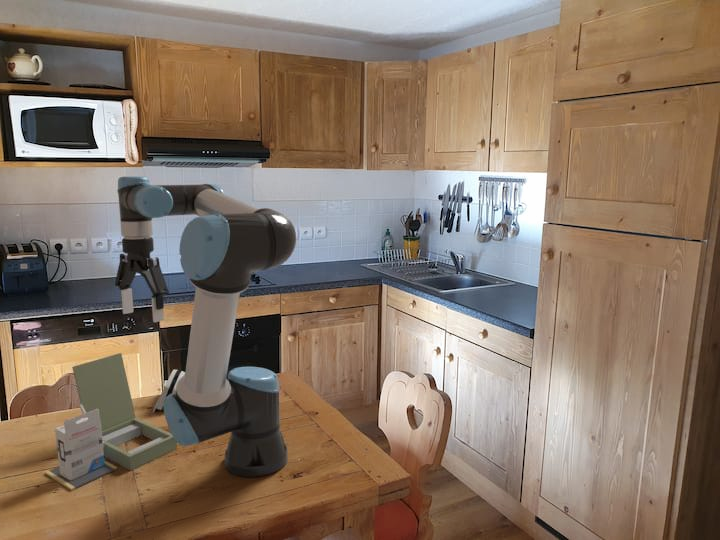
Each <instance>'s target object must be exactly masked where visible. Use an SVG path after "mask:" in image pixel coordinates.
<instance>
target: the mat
mask: <svg viewBox="0 0 720 540" xmlns="http://www.w3.org/2000/svg"><path fill="white" fill-rule="evenodd" d="M104 462H105V465H104V466H102V467H100V468H98V469H96V470H94V471H91V472H89V473H87V474H85V475H83V476H80V477H78V478H76V479H74V480H68V479H67V478H65V477H63V476H62V475H60V468H59V465H58V466H56V467H54V468H51V469H49V470H48V469H47V470H45V471H44V474H45V475H46V476H48V477H50V479H53V480H54V481H55V482H57V483H59V484H60V485H61V486H63V487H65V488H66V489H68V490H69V491H71V492H73V491H74V490H76V489H78V488H81V487H83V486H85V485H88V484H90V483H92V482H93V481H96V480H98V479H101V478H102V477H105V476H107V475H109V474H111V473H112V472H115V471H117V470H118V469H119V468H118V467H117V466H115V465H114V464H112V463H110V462H109V461H107V460H105V459H104Z"/></svg>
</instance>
